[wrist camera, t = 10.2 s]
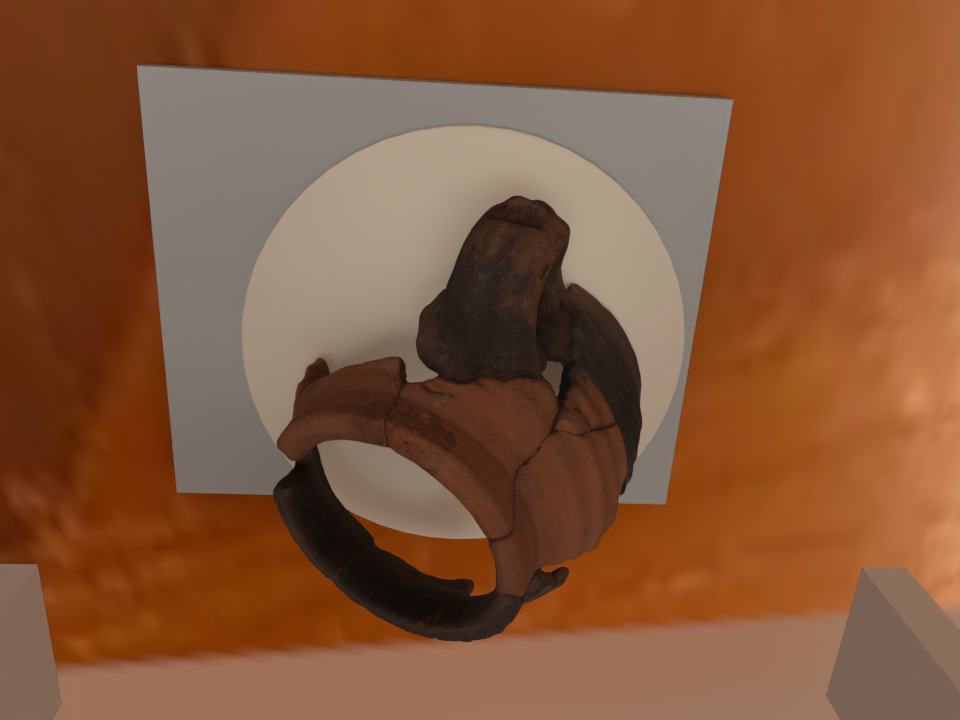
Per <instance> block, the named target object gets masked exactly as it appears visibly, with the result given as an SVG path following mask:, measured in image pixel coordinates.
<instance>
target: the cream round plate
mask: <svg viewBox="0 0 960 720" xmlns="http://www.w3.org/2000/svg"><path fill="white" fill-rule="evenodd" d="M512 196H523V197H525V198H528V199H530V200H541V201H544V202H546V203H547V204H548V205H550V206H551V207H552V208H553V209H554V211H555V212H556V214H557V215H558V216H559V217H560V218H561V219H563V220H564V221H565V222H566V223H567V224H568V225H569V227H570V239H569V244H568V248H567V251H566V254H565V256H564V259H563V263H562V267H561V270H562V278H563V283H564V285H565V288H566V289H567V288H568V287H569V286H570V285H571V284H573V283H575V284H578V285H579V286H580V287H582V288H583V289H585V290H586V291H587V292H588V293H590V294H591V295H592V296H594V297H595V298H596V299H597V300H598V301H599V302H600V303H601V304H602V305H603V306H604V307H605V308H606V309H608V310H609V311H610V312H611V313H612V314H613V315H614V317H615V318H616V319H617V320H618V322H619V324H620V325H621V326H622V328H623V330H624V331H625V333H626V335H627V337H628V339H629V341H630V343H631V346H632V348H633V350H634V352H635V355H636V357H637V362H638V366H639V370H640V375H641V398H640V409H641V414H642V429H641V432H640V441H639V445H638V453H637V458H638V457H639V456H640V454H641V453H642V452H643V450H644V449H645V447H646V446H647V445H648V443H649V442H650V440H651V439H652V438H653V436H654V435H655V433H656V431H657V429H658V427H659V426H660V424H661V422H662V420H663V418H664V416H665V414H666V413H667V410H668V408H669V405H670V402H671V400H672V397H673V394H674V392H675V389H676V386H677V382H678V378H679V373H680V369H681V365H682V359H683V348H684V337H685V331H684V309H683V303H682V298H681V293H680V288H679V282H678V279H677V276H676V273H675V270H674V267H673V265H672V262H671V259H670V256H669V254H668V252H667V250H666V248H665V246H664V244H663V242H662V240H661V238H660V236H659V234H658V232H657V230H656V229H655V228H654V226H653V225H652V223H651V222H650V220H649V219H648V218H647V216H646V215H645V213H644V212H643V211H642V209H641V208H640V206H639V205H638V204H637V203H636V202H635V201H634V200H633V199H632V198H631V197H630V196H629V195H628V194H627V193H626V192H625V191H624V190H623V189H622V187H621V186H620V185H619V184H618V183H617V182H616V181H614V180H613V179H612V178H611V177H610V176H608V175H607V174H606V173H605V172H603V171H602V170H601V169H600V168H598V167H597V166H596V165H594V164H593V163H592V162H591V161H589V160H587V159H585V158H584V157H582V156H580V155H579V154H577V153H575V152H574V151H572V150H570V149H568V148H567V147H565V146H563V145H560V144H558V143H555V142H553V141H550V140H548V139H546V138H543V137H541V136H538V135H535V134H531V133H528V132H524V131H520V130H516V129H512V128H509V127H501V126H493V125H485V124H443V125H436V126H429V127H423V128H416V129H412V130H409V131H405V132H402V133H399V134H395V135H392V136H388V137H385V138H383V139H381V140H378V141H376V142H374V143H372V144H369V145H367V146H365V147H363V148H360V149H358V150H356V151H355V152H353V153H352V154H350V155H348V156H347V157H345V158H344V159H342V160H340V161H339V162H337V163H336V164H334V165H332V166H331V167H330V168H329V169H327V170H326V171H325V172H324V173H323V174H321V175H320V176H319V177H318V178H317V179H315V180H314V181H313V182H312V183H311V184H309V185H308V187H307V188H306V189H305V190H304V191H303V192H302V193H301V194H300V195H299V196H298V198H297V199H296V200H295V201H294V202H293V203H292V204H291V205H290V206H289V208H288V209H287V210H286V212H285V213H284V215H283V216H282V218H281V219H280V221H279V222H278V224H277V225H276V227H275V228H274V229H273V231H272V232H271V234H270V235H269V237H268V239H267V241H266V243H265V245H264V247H263V249H262V251H261V253H260V255H259V257H258V259H257V261H256V264H255V266H254V270H253V273H252V276H251V279H250V282H249V285H248V289H247V293H246V299H245V305H244V311H243V317H242V351H243V359H244V367H245V374H246V378H247V381H248V385H249V389H250V392H251V396H252V399H253V402H254V404H255V406H256V409H257V411H258V413H259V416H260V418H261V420H262V423H263V425H264V426H265V428H266V430H267V431H268V433H269V435H270V436H271V438H272V440H273V441H274V443H275V445H276V446H277V440H278V438H279V436H280V435H281V433H282V432H283V430H284V429H285V428H286V427H287V426H288V424H289V422H290V421H291V420H292V416H293V406H294V401H295V393H296V389H297V385H298V383H299V382H300V381H302V379H303V378H304V376H305V370H306V368H307V367H308V366H309V365H310V364H312V363H314V362H315V361H316V359H317V358H319V357H320V358H323V359H324V360H325V361H326V363H327V365H328V368H329V372H330V374H331V373H333V372H335V371H337V370H339V369H341V368H343V367H345V366H350V365H355V364H362V363H364V362H368V361H373V360H377V359H383V358H386V357H400V358H402V359H403V361H404V362H405V365H406V374H407V377H406V380H407V381H408V383H409V382H411V383H413V382H423V381H425V380H427V379H433V378H435V377H437V376H438V374H437V373H436V372H434V371H432V370H430V369H428V368H427V367H426V366H425V365H424V364H423V362H422V361H421V360H420V359H419V357H418V354H417V349H416V338H417V335H418V327H419V317H420V313H421V312H422V310H423V309H424V307H425V306H427V305H428V304H430V303H431V302H432V301H433V300H434V299H435V298H436V297H437V296H438V294H439V293H440V292H441V291H442V290H444V289H446V286H447V283H448V280H449V278H450V275H451V273H452V271H453V268H454V266H455V263H456V259H457V257H458V255H459V252H460V250H461V247H462V245H463V243H464V241H465V239H466V237H467V235H468V234H469V232H470V231H471V229H472V227H473V226H474V225H475V223H476V222H477V221H478V220H479V219H480V218H481V216H482V215H483V214H484V213H485V212H486V211H487V210H489V209H490V208H491V207H492V206H494V205H496V204H499V203H502V202H504V201H505V200H507V199H508V198H510V197H512ZM562 371H563V366H562V364H561V363H559V362H558V363H556V362H552V361H547V367H546V369H545V370H544V371H543V372H542V376H543V377H544V378H545V379H546V380H547V381H549V382H550V384H551V385H552V387H553V389H554V391H555V395H556V397H557V396H558V394H559V385H560V383H561V375H562ZM317 446H318V450H319V453H320V457H321V462H322V465H323V468H324V472H325V475H326V477H327V480H328V482H329V484H330V486H331V489H332V491H333V492H334V494H335V495H336V497H337V498H338V499H339V500H340V502H341V503H342V505H343V506H344V507H345V508H346V509H347V510H349V511H351V512H352V513H354V514H356V515H358V516H360V517H363V518H365V519H367V520H370V521H372V522H374V523H376V524H379V525H382V526H385V527H388V528H392V529H395V530H398V531H401V532H405V533H410V534H416V535H421V536H426V537H435V538H448V539H472V538H486V536H485V535H484V533H483V532H482V530H481V529H480V527H479V526H478V524H477V523H476V521H475V519H474V518H473V516H472V515H471V514H470V512H469V511H468V510H467V509H466V508H465V507H464V506H463V504H462V503H461V502H460V501H459V500H458V499H457V498H456V497H455V496H454V495H453V494H452V493H451V492H450V491H449V490H448V489H447V488H445V487H444V486H443V485H442V484H441V483H440V482H438V481H437V480H436V479H435V478H434V477H432V476H431V475H430V474H429V473H427V472H426V471H424V470H423V469H422V468H421V467H419V466H418V465H416V464H415V463H413V462H412V461H410V460H408V459H407V458H405V457H403V456H401V455H399V454H397V453H396V452H395V451H393V450H392V449H391V448H388V447H381V446H378V445H373V444H367V443H362V442H358V441H351V440H332V441H325V442H322V443H320V444H318V445H317ZM281 453H282V452H281ZM282 454H283V455H284V456H285V454H284V453H282ZM285 458H286V459H287V460H288V461H289V463H290V464H291V465H292V466H293V467H294V466H295V461H291V460H289V459H288V458H287V457H286V456H285Z"/></svg>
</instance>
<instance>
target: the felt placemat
mask: <svg viewBox="0 0 960 720" xmlns="http://www.w3.org/2000/svg"><path fill="white" fill-rule="evenodd" d="M137 73H138V84H139V95H140V105H141V116H142V127H143V137H144V148H145V159H146V169H147V180H148V191H149V201H150V212H151V222H152V233H153V244H154V254H155V265H156V276H157V286H158V297H159V308H160V318H161V329H162V340H163V350H164V361H165V372H166V382H167V393H168V403H169V414H170V425H171V435H172V446H173V457H174V467H175V478H176V489H177V493H215V494H256V495H273V490H274V488H275V486H276V484H277V483H278V482H279V481H280V480H281V479H282V478H283V477H285V476H286V475H288V473H289V472H290V471H291V470H292V469H293V468H294V467H293V466H292V465H291V464H290V463H289V461H288V460H287V459H286V458H285V456H284V455H283V454H282V453H281V451H280V450H279V449H278V448H277V446H276V445H275V443H274V441H273V440H272V438H271V436H270V435H269V433H268V431H267V430H266V428H265V426H264V425H263V423H262V420H261V418H260V416H259V413H258V411H257V409H256V406H255V404H254V402H253V399H252V396H251V392H250V389H249V385H248V381H247V378H246V374H245V367H244V359H243V351H242V317H243V311H244V305H245V299H246V293H247V289H248V285H249V282H250V279H251V276H252V273H253V270H254V266H255V264H256V261H257V259H258V257H259V255H260V253H261V251H262V249H263V247H264V245H265V243H266V241H267V239H268V237H269V235H270V234H271V232H272V231H273V229H274V228H275V227H276V225H277V224H278V222H279V221H280V219H281V218H282V216H283V215H284V213H285V212H286V210H287V209H288V208H289V206H290V205H291V204H292V203H293V202H294V201H295V200H296V199H297V198H298V196H299V195H300V194H301V193H302V192H303V191H304V190H305V189H306V188H307V187H308V185H309V184H311V183H312V182H313V181H314V180H315V179H317V178H318V177H319V176H320V175H321V174H323V173H324V172H325V171H326V170H327V169H329V168H330V167H331V166H332V165H334V164H336V163H337V162H339V161H340V160H342V159H344V158H345V157H347V156H348V155H350V154H352V153H353V152H355V151H356V150H358V149H360V148H363V147H365V146H367V145H369V144H372V143H374V142H376V141H378V140H381V139H383V138H385V137H388V136H392V135H395V134H399V133H402V132H405V131H409V130H412V129H416V128H423V127H429V126H436V125H443V124H485V125H493V126H501V127H509V128H512V129H516V130H520V131H524V132H528V133H531V134H535V135H538V136H541V137H543V138H546V139H548V140H550V141H553V142H555V143H558V144H560V145H563V146H565V147H567V148H568V149H570V150H572V151H574V152H575V153H577V154H579V155H580V156H582V157H584V158H585V159H587V160H589V161H591V162H592V163H593V164H594V165H596V166H597V167H598V168H600V169H601V170H602V171H603V172H605V173H606V174H607V175H608V176H610V177H611V178H612V179H613V180H614V181H616V182H617V183H618V184H619V185H620V186H621V187H622V189H623V190H624V191H625V192H626V193H627V194H628V195H629V196H630V197H631V198H632V199H633V200H634V201H635V202H636V203H637V204H638V205H639V206H640V208H641V209H642V211H643V212H644V213H645V215H646V216H647V218H648V219H649V220H650V222H651V223H652V225H653V226H654V228H655V229H656V230H657V232H658V234H659V236H660V238H661V240H662V242H663V244H664V246H665V248H666V250H667V252H668V254H669V256H670V259H671V262H672V265H673V267H674V270H675V273H676V276H677V279H678V282H679V288H680V293H681V298H682V303H683V309H684V331H685V337H684V348H683V359H682V365H681V369H680V373H679V378H678V382H677V386H676V389H675V392H674V394H673V397H672V400H671V402H670V405H669V408H668V410H667V413H666V414H665V416H664V418H663V420H662V422H661V424H660V426H659V427H658V429H657V431H656V433H655V435H654V436H653V438H652V439H651V440H650V442H649V443H648V445H647V446H646V447H645V449H644V450H643V452H642V453H641V454H640V456H639V457H638V458H637V459H636V461H635V463H634V465H633V474H632V478H631V480H630V482H629V483H628V484H627V486H626V489H625V492H624V494H623V495H619V498H618V503H629V504H666V499H667V493H668V487H669V481H670V475H671V469H672V463H673V457H674V451H675V445H676V439H677V433H678V427H679V421H680V415H681V409H682V403H683V397H684V391H685V386H686V380H687V374H688V368H689V362H690V356H691V350H692V344H693V338H694V332H695V326H696V320H697V314H698V308H699V302H700V296H701V290H702V284H703V278H704V272H705V266H706V260H707V254H708V248H709V243H710V237H711V231H712V225H713V219H714V213H715V207H716V201H717V195H718V189H719V183H720V177H721V171H722V165H723V159H724V153H725V147H726V141H727V135H728V129H729V123H730V117H731V111H732V105H733V100H732V99H729V98H726V97H716V96H699V95H681V94H664V93H646V92H629V91H612V90H594V89H577V88H559V87H542V86H524V85H507V84H490V83H472V82H455V81H437V80H420V79H403V78H385V77H368V76H350V75H333V74H316V73H298V72H281V71H263V70H246V69H229V68H211V67H194V66H176V65H159V64H143V65H138V66H137Z"/></svg>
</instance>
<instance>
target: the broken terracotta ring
mask: <svg viewBox="0 0 960 720" xmlns="http://www.w3.org/2000/svg"><path fill="white" fill-rule="evenodd" d="M569 239H570V227H569V225H568V224H567V223H566V222H565V221H564V220H563V219H561V218H560V217H559V216H558V215H557V214H556V212H555V211H554V209H553V208H552V207H551V206H550V205H548V204H547V203H546V202H544V201H541V200H530V199H528V198H525V197H523V196H512V197H510V198H508V199H507V200H505V201H504V202H502V203H499V204H496V205H494V206H492V207H491V208H490V209H489V210H487V211H486V212H485V213H484V214H483V215H482V216H481V218H480V219H479V220H478V221H477V222H476V223H475V225H474V226H473V227H472V229H471V231H470V232H469V234H468V235H467V237H466V239H465V241H464V243H463V245H462V247H461V250H460V252H459V255H458V257H457V259H456V263H455V266H454V268H453V271H452V273H451V275H450V278H449V280H448V283H447V286H446V289H444V290H442V291H441V292H440V293H439V294H438V296H437V297H436V298H435V299H434V300H433V301H432V302H431V303H430V304H428V305H427V306H425V307H424V309H423V310H422V312H421V313H420V317H419V327H418V335H417V338H416V349H417V354H418V357H419V359H420V360H421V361H422V362H423V364H424V365H425V366H426V367H427V368H428V369H430V370H432V371H434V372H436V373H437V374H438V376H437V377H435V378H433V379H427V380H425V381H423V382H413V383H411V382H409V383H408V381H407V380H406V377H407V374H406V365H405V362H404V361H403V359H402V358H400V357H386V358H383V359H377V360H373V361H368V362H364V363H362V364H355V365H350V366H345V367H343V368H341V369H339V370H337V371H335V372H333V373H331V374H330V372H329V368H328V365H327V363H326V361H325V360H324V359H323V358H320V357H319V358H317V359H316V361H315V362H314V363H312V364H310V365H309V366H308V367H307V368H306V370H305V376H304V378H303V379H302V381H300V382H299V383H298V385H297V389H296V393H295V401H294V406H293V416H292V420H291V421H290V422H289V424H288V426H287V427H286V428H285V429H284V430H283V432H282V433H281V435H280V436H279V438H278V440H277V448H278V449H279V450H280V451H281V452H282V453H284V454H285V456H286V457H287V458H288V459H289V460H291V461H295V466H294V468H293V469H292V470H291V471H290V472H289V473H288V475H286V476H285V477H283V478H282V479H281V480H280V481H279V482H278V483H277V484H276V486H275V488H274V490H273V496H274V501H275V503H276V505H277V507H278V511H279V513H280V515H281V517H282V520H283V522H284V523H285V525H286V526H287V528H288V530H289V532H290V534H291V536H292V537H293V539H294V540H295V542H296V543H297V544H298V545H299V547H300V548H301V550H302V551H303V553H304V554H305V555H306V556H307V558H308V559H309V560H310V561H311V562H312V564H313V565H314V566H315V567H317V568H318V570H320V571H321V572H322V573H323V574H324V575H325V576H326V577H327V578H329V579H331V580H332V581H333V582H334V583H335V585H336V586H337V587H338V588H339V589H340V590H341V591H342V592H344V593H345V594H346V595H347V596H349V597H350V599H351V600H352V601H354V602H355V603H357V604H359V605H361V606H363V607H364V608H366V609H368V610H369V611H370V612H371V613H373V614H375V615H376V616H377V617H379V618H381V619H383V620H385V621H387V622H389V623H391V624H393V625H395V626H397V627H399V628H401V629H403V630H406V631H407V632H411V633H413V634H418V635H420V636H424V637H427V638H437V639H439V640H443V641H463V642H471V641H472V640H480V639H486V638H489V637H491V636H493V635H495V634H499V633H501V632H503V630H504V628H505V627H506V626H507V625H509V624H510V623H511V622H512V621H513V620H514V618H515V617H516V615H517V614H518V612H519V610H520V609H521V607H522V605H523V604H524V603H528V602H531V601H533V600H535V599H537V598H539V597H541V596H543V595H545V594H547V593H548V592H550V591H552V590H554V589H555V588H557V587H559V586H561V585H562V584H563V583H564V582H565V581H566V578H567V576H568V573H569V569H568V568H566V567H560V568H558V569H556V570H554V571H553V572H551V573H550V572H546V573H545V572H544V571H542V570H541V567H543V566H546V565H555V564H560V563H562V562H564V561H565V560H568V559H575V558H577V557H579V556H581V555H582V554H583V553H585V552H588V551H591V550H593V549H595V548H596V546H597V544H598V542H599V540H600V538H601V536H602V535H603V534H604V533H605V531H606V530H607V529H608V528H609V527H610V526H611V525H612V523H613V521H614V518H615V515H616V512H617V507H618V498H619V495H623V494H624V492H625V489H626V486H627V484H628V483H629V482H630V480H631V478H632V474H633V465H634V463H635V461H636V459H637V453H638V445H639V441H640V432H641V429H642V414H641V409H640V398H641V375H640V370H639V366H638V362H637V357H636V355H635V352H634V350H633V348H632V346H631V343H630V341H629V339H628V337H627V335H626V333H625V331H624V330H623V328H622V326H621V325H620V324H619V322H618V320H617V319H616V318H615V317H614V315H613V314H612V313H611V312H610V311H609V310H608V309H606V308H605V307H604V306H603V305H602V304H601V303H600V302H599V301H598V300H597V299H596V298H595V297H594V296H592V295H591V294H590V293H588V292H587V291H586V290H585V289H583V288H582V287H580V286H579V285H578V284H575V283H573V284H571V285H570V286H569V287H568V288H567V289H566V288H565V285H564V283H563V278H562V270H561V267H562V263H563V259H564V256H565V254H566V251H567V248H568V244H569ZM547 361H552V362H556V363H558V362H559V363H561V364H562V366H563V371H562V375H561V383H560V385H559V394H558V396H557V397H556V395H555V391H554V389H553V387H552V385H551V384H550V382H549V381H547V380H546V379H545V378H544V377H543V376H542V372H543V371H544V370H545V369H546V367H547ZM332 440H351V441H358V442H362V443H367V444H373V445H378V446H381V447H388V448H391V449H392V450H393V451H395V452H396V453H397V454H399V455H401V456H403V457H405V458H407V459H408V460H410V461H412V462H413V463H415V464H416V465H418V466H419V467H421V468H422V469H423V470H424V471H426V472H427V473H429V474H430V475H431V476H432V477H434V478H435V479H436V480H437V481H438V482H440V483H441V484H442V485H443V486H444V487H445V488H447V489H448V490H449V491H450V492H451V493H452V494H453V495H454V496H455V497H456V498H457V499H458V500H459V501H460V502H461V503H462V504H463V506H464V507H465V508H466V509H467V510H468V511H469V512H470V514H471V515H472V516H473V518H474V519H475V521H476V523H477V524H478V526H479V527H480V529H481V530H482V532H483V533H484V535H485V536H486V537H487V538H488V540H489V546H490V549H491V551H492V554H493V557H494V561H495V567H496V588H495V590H494V591H492V592H490V593H488V594H485V595H480V596H470V594H471V592H472V591H473V589H474V583H473V581H472V580H468V579H456V580H446V579H440V578H436V577H433V576H430V575H426V574H424V573H422V572H420V571H418V570H417V569H416V568H414V567H412V566H411V565H409V564H408V563H406V562H405V561H404V560H402V559H400V558H399V557H397V556H395V555H393V554H391V553H389V552H387V551H384V550H382V549H380V548H378V547H377V546H375V543H374V539H373V537H372V536H371V534H370V533H369V532H368V531H367V530H366V529H365V528H364V526H363V525H362V524H361V523H359V522H358V521H357V520H356V519H355V518H354V517H353V516H352V515H351V514H350V512H349V511H348V510H347V509H346V508H345V507H344V506H343V505H342V503H341V502H340V500H339V499H338V498H337V497H336V495H335V494H334V492H333V491H332V489H331V486H330V484H329V482H328V480H327V477H326V475H325V472H324V468H323V465H322V462H321V457H320V453H319V450H318V446H317V445H318V444H320V443H322V442H325V441H332Z"/></svg>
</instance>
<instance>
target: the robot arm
mask: <svg viewBox="0 0 960 720" xmlns="http://www.w3.org/2000/svg"><path fill="white" fill-rule="evenodd" d="M826 696H827V698H828V700H829V701H830V703H831V705H832V706H833V708H834V709H835V711H836V713H837V715H838V716H839V718H840V720H960V630H959V629H958V627H957V626H956V625H955V624H954V623H953V622H952V621H951V619H950V618H949V617H948V616H947V615H946V614H945V612H944V611H943V610H942V609H941V608H940V607H939V606H938V604H937V603H936V602H935V601H934V600H933V599H932V597H931V596H930V595H929V594H928V593H927V592H926V591H925V589H924V588H923V587H922V586H921V585H920V584H919V583H918V581H917V580H916V579H915V578H914V577H913V576H912V574H911V573H910V572H909V571H908V570H907V569H906V568H862V570H861V574H860V577H859V581H858V584H857V588H856V591H855V595H854V598H853V602H852V605H851V609H850V613H849V616H848V620H847V623H846V627H845V630H844V634H843V637H842V641H841V645H840V648H839V651H838V655H837V658H836V662H835V665H834V669H833V672H832V676H831V680H830V683H829V686H828V690H827V693H826ZM61 703H62V701H61V696H60V690H59V684H58V679H57V673H56V667H55V661H54V656H53V650H52V644H51V639H50V633H49V627H48V622H47V616H46V610H45V605H44V599H43V593H42V588H41V582H40V576H39V571H38V565H37V564H0V720H53V719H54V717H55V715H56V713H57V711H58V709H59V707H60V705H61Z"/></svg>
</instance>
